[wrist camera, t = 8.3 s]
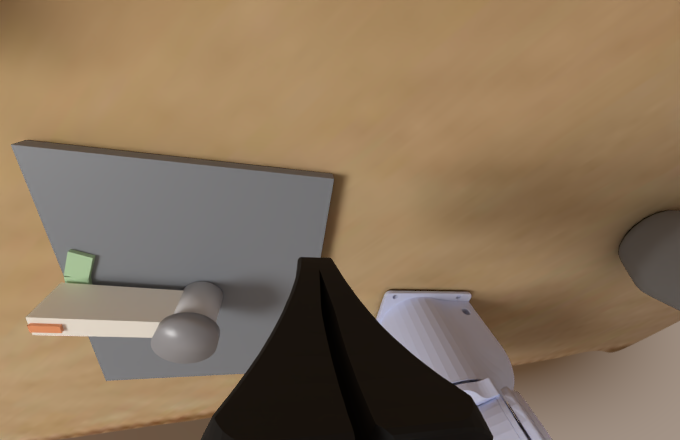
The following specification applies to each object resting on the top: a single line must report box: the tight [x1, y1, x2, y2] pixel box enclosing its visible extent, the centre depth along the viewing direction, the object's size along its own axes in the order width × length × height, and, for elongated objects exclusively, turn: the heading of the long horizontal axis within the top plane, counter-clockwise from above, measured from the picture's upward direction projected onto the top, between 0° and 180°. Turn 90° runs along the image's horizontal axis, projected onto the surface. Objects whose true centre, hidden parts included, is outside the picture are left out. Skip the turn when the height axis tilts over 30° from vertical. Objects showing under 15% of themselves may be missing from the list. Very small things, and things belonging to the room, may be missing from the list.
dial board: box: [11, 140, 334, 381], centre depth 22 cm, size 18×22×1 cm
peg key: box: [26, 281, 223, 364], centre depth 19 cm, size 11×4×4 cm, turn 76°
